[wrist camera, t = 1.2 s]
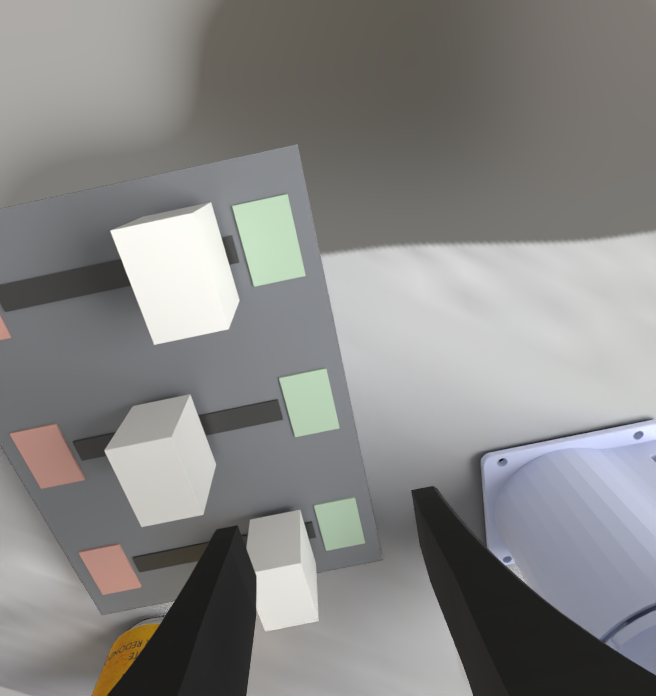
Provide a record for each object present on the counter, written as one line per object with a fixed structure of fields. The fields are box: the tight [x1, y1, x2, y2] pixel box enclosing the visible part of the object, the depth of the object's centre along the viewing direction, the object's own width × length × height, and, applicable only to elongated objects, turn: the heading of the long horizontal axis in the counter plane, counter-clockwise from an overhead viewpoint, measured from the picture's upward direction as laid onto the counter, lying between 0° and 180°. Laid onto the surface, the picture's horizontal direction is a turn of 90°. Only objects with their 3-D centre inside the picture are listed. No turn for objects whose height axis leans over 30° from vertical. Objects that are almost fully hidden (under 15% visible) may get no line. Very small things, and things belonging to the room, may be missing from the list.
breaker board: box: [0, 144, 383, 615], centre depth 20 cm, size 15×20×2 cm
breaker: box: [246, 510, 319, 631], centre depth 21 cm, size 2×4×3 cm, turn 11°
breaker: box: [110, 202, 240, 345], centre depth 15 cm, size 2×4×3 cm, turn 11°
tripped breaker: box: [104, 394, 216, 527], centre depth 18 cm, size 2×4×3 cm, turn 11°
